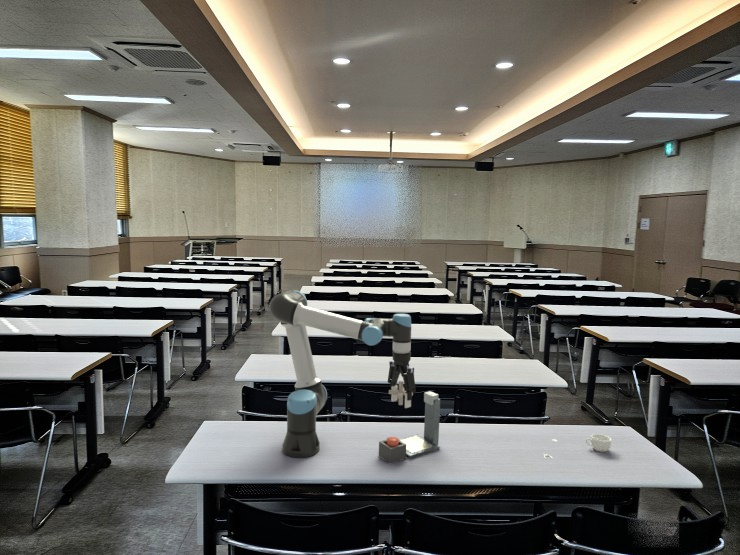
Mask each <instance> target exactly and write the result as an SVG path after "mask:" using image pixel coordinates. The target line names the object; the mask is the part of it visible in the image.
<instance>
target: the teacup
mask: <svg viewBox="0 0 740 555" xmlns="http://www.w3.org/2000/svg"><path fill="white" fill-rule="evenodd" d="M588 441H590V443H589V442H588ZM585 443H586V444H587V445H589V446H591V447H592V448H593V449H594V451H597V452H600V453H606V452H608V451H609V450H610V449H611V445H612V438H611V437H610V436H608V435H605V434H600V433H593V434H591V435H590V437H589V438H588V437H587V438H586V439H585Z"/></svg>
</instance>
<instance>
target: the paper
mask: <svg viewBox="0 0 740 555" xmlns="http://www.w3.org/2000/svg"><path fill="white" fill-rule="evenodd" d="M551 441H553V442H558V440H557V439H554V438H553V439H551ZM542 457H543V458H544V459H545V460H547V459H548V457H550V458H551V459H552V460H553V459H554V457H553V456H552V455H551V454H548V453H543V454H542Z"/></svg>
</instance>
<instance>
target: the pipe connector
mask: <svg viewBox="0 0 740 555" xmlns="http://www.w3.org/2000/svg"><path fill="white" fill-rule="evenodd" d="M405 392H406V390H405V387H404V380H398V389H397V390H391V389H388V395H391V394H395V395H397V400H398V405H399V406H403V405H404V396H405ZM413 395H414V392H412V397H413Z"/></svg>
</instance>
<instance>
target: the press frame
mask: <svg viewBox="0 0 740 555" xmlns="http://www.w3.org/2000/svg"><path fill="white" fill-rule="evenodd" d="M423 402H424V403H425V404H424V426H423V427H424V429H423V436H422V435H420V434H417V433H416V434H413V435H410V436H407V437H403V438H398V439H399V440H400V441H401V442H403V443H405V444H406V459H409V460H413V459H415V458H419V457H421V456H425V455H427V454H431V453H434V452H436V451H440V448H441V447H440V445H439V437H440V436H439V435H440V434H439V433H440V416H441V415H440V414H441V412H440V411H441V399H440V398H439V394H438V393H436V392H433V391H432V390H431V391H430V390H429V391H426V392H424V393H423Z"/></svg>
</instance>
